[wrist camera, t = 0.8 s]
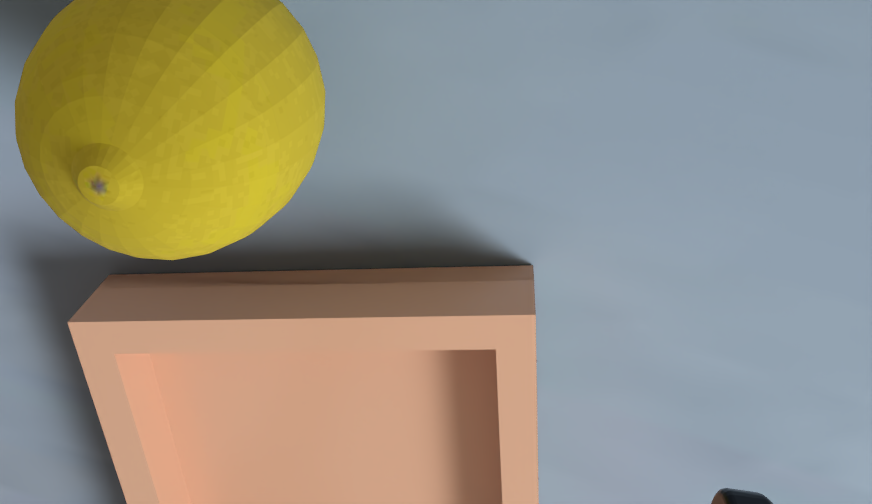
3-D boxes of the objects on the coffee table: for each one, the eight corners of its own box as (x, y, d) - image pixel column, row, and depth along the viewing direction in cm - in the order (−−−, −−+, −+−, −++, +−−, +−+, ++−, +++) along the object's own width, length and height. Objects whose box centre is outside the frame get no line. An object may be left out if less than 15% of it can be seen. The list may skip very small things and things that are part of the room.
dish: (195, 571, 29) (169, 633, 27) (109, 274, 23) (67, 322, 21) (538, 577, 28) (540, 642, 25) (533, 265, 22) (535, 314, 20)
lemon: (355, 168, 21) (278, 342, 14) (146, 156, 22) (-30, 320, 15) (351, -59, 19) (254, 18, 12) (114, -68, 19) (-121, 1, 12)
